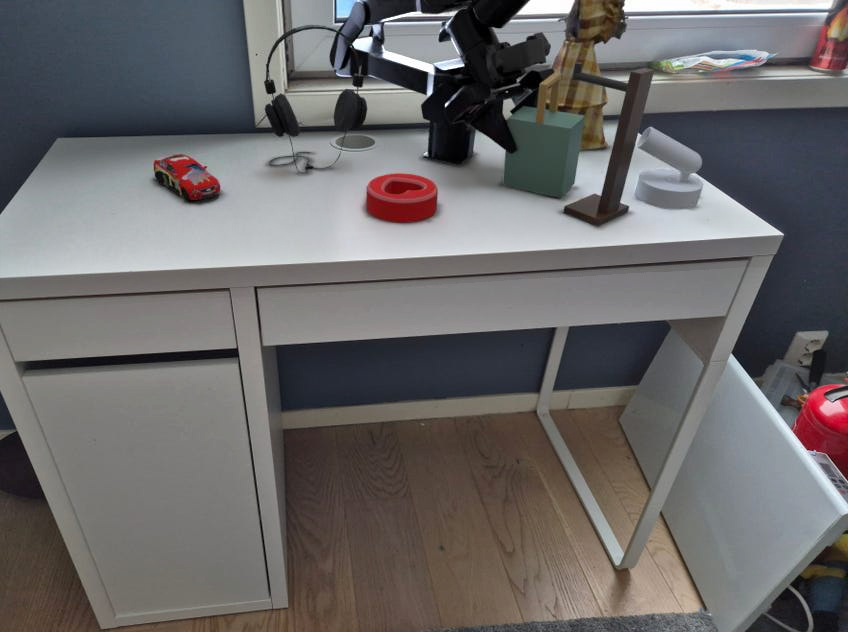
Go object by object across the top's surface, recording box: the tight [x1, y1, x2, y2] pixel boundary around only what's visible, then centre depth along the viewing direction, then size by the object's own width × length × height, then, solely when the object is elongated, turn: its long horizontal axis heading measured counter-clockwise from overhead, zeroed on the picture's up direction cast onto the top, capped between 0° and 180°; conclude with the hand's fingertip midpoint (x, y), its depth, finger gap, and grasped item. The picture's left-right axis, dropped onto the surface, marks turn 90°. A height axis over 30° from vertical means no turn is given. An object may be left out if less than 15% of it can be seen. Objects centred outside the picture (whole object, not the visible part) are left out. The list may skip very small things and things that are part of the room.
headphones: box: [263, 24, 368, 174], centre depth 97 cm, size 15×11×20 cm
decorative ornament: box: [365, 172, 439, 224], centre depth 89 cm, size 10×10×3 cm
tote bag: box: [502, 72, 585, 199], centre depth 91 cm, size 9×5×15 cm, turn 56°
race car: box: [153, 153, 221, 202], centre depth 93 cm, size 13×5×4 cm, turn 39°
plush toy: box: [545, 0, 629, 151], centre depth 106 cm, size 14×14×25 cm
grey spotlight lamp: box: [634, 126, 704, 210], centre depth 91 cm, size 9×10×10 cm
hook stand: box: [562, 62, 655, 228], centre depth 85 cm, size 10×7×19 cm
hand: (527, 147), depth 94 cm, fingers closed on tote bag, 6 cm apart
